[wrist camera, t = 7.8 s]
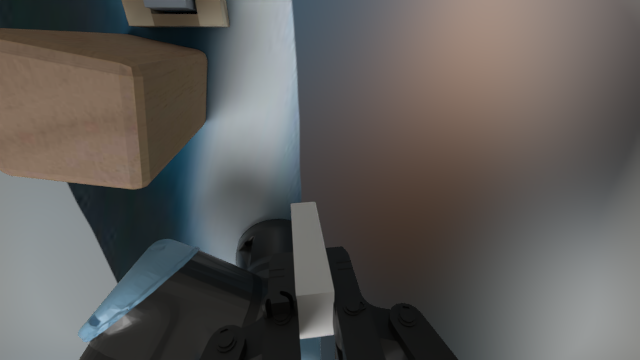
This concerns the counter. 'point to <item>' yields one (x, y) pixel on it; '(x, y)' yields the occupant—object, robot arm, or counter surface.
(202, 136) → the counter surface
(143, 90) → the block
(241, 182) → the counter surface
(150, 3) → the grey small cube
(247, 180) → the counter surface
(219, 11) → the wooden slotted tray
